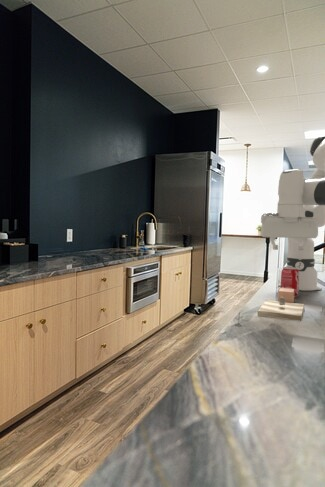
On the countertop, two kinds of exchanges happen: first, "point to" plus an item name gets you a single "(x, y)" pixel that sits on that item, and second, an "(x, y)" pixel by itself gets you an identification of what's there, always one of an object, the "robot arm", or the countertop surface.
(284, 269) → the soda can
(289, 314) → the pin plate
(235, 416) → the countertop surface
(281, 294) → the block
